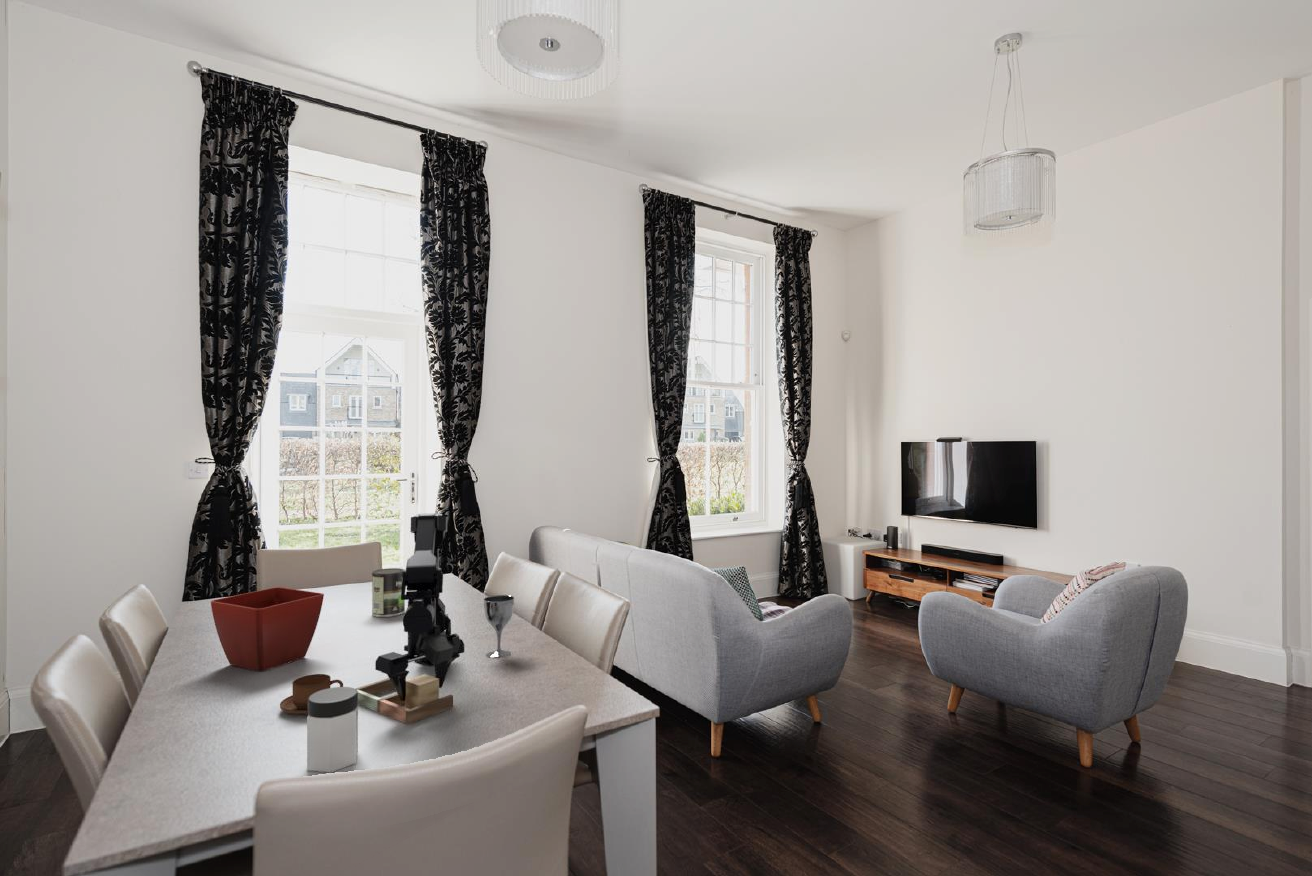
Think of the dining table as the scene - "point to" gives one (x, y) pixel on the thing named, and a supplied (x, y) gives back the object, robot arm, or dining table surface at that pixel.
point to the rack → (398, 703)
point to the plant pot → (267, 626)
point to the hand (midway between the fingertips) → (421, 694)
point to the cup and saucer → (306, 692)
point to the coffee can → (387, 592)
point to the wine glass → (498, 619)
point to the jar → (332, 729)
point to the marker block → (421, 691)
